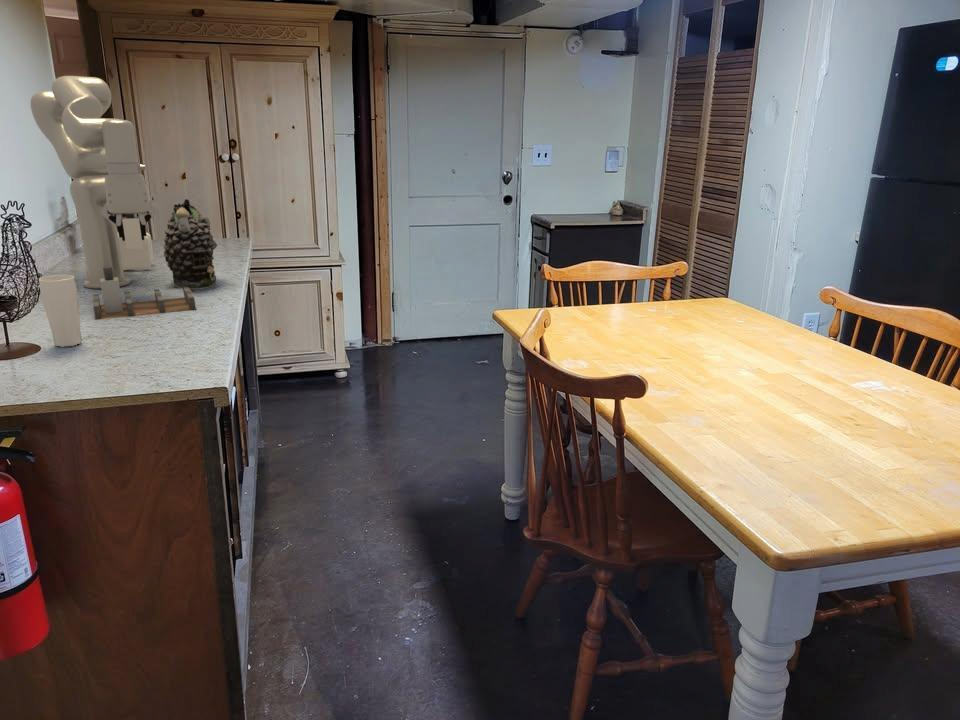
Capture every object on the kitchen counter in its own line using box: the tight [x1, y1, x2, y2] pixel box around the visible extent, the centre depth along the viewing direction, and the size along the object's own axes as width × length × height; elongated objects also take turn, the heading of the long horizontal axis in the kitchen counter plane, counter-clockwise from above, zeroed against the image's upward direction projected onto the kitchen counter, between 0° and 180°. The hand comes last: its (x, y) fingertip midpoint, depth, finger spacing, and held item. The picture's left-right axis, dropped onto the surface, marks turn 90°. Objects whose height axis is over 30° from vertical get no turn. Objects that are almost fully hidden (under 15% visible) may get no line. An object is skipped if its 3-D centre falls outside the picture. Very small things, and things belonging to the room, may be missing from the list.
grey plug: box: [100, 267, 123, 313], centre depth 176 cm, size 4×4×11 cm
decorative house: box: [163, 199, 218, 291], centre depth 208 cm, size 21×15×25 cm
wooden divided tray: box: [92, 287, 197, 320], centre depth 180 cm, size 15×23×4 cm, turn 118°
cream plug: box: [121, 214, 143, 249], centre depth 187 cm, size 4×4×11 cm
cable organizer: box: [118, 231, 155, 272], centre depth 231 cm, size 15×11×12 cm
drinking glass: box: [38, 274, 83, 348], centre depth 152 cm, size 7×7×15 cm
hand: (133, 239), depth 188 cm, fingers closed on cream plug, 4 cm apart
